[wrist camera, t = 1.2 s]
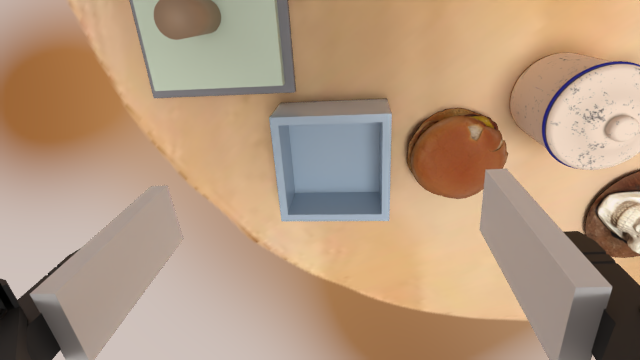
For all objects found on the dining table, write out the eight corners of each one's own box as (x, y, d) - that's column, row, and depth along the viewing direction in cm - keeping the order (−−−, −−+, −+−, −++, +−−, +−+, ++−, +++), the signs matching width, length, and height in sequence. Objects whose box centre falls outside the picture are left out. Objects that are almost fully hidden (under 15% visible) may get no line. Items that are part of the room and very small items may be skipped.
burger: (406, 187, 44) (411, 206, 40) (407, 110, 40) (413, 122, 36) (492, 184, 43) (507, 203, 39) (502, 104, 39) (520, 116, 35)
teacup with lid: (519, 151, 41) (575, 201, 31) (495, 75, 38) (548, 103, 27) (640, 103, 38) (749, 142, 27) (625, 17, 35) (741, 22, 24)
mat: (115, -71, 35) (111, -73, 35) (280, -87, 34) (279, -88, 33) (156, 96, 42) (153, 98, 42) (295, 91, 40) (295, 92, 40)
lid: (124, -61, 35) (62, -78, 28) (269, -74, 34) (244, -96, 26) (160, 88, 41) (117, 107, 34) (284, 83, 40) (268, 101, 32)
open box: (280, 102, 41) (269, 117, 36) (387, 98, 40) (391, 113, 34) (290, 195, 46) (281, 221, 41) (385, 194, 45) (389, 220, 39)
